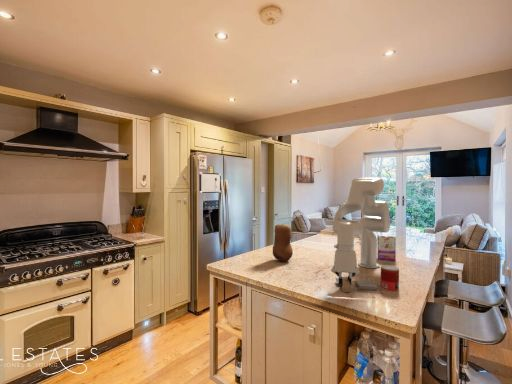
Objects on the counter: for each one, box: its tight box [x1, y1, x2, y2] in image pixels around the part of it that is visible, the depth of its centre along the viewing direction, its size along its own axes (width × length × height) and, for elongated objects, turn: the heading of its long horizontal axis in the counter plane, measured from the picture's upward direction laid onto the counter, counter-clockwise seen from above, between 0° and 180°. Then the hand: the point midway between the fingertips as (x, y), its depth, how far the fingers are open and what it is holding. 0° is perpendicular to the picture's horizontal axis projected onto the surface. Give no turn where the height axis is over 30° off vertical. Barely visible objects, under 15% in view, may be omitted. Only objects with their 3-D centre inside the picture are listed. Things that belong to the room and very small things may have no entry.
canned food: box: [380, 264, 400, 292], centre depth 131 cm, size 8×8×11 cm
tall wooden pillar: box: [335, 276, 351, 293], centre depth 131 cm, size 14×6×4 cm, turn 171°
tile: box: [355, 278, 378, 290], centre depth 133 cm, size 2×8×9 cm
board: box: [351, 280, 383, 294], centre depth 132 cm, size 15×11×1 cm
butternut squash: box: [272, 223, 294, 263], centre depth 181 cm, size 14×13×25 cm
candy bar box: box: [376, 234, 397, 262], centre depth 186 cm, size 11×5×16 cm, turn 73°
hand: (344, 285), depth 129 cm, fingers closed on tall wooden pillar, 3 cm apart
